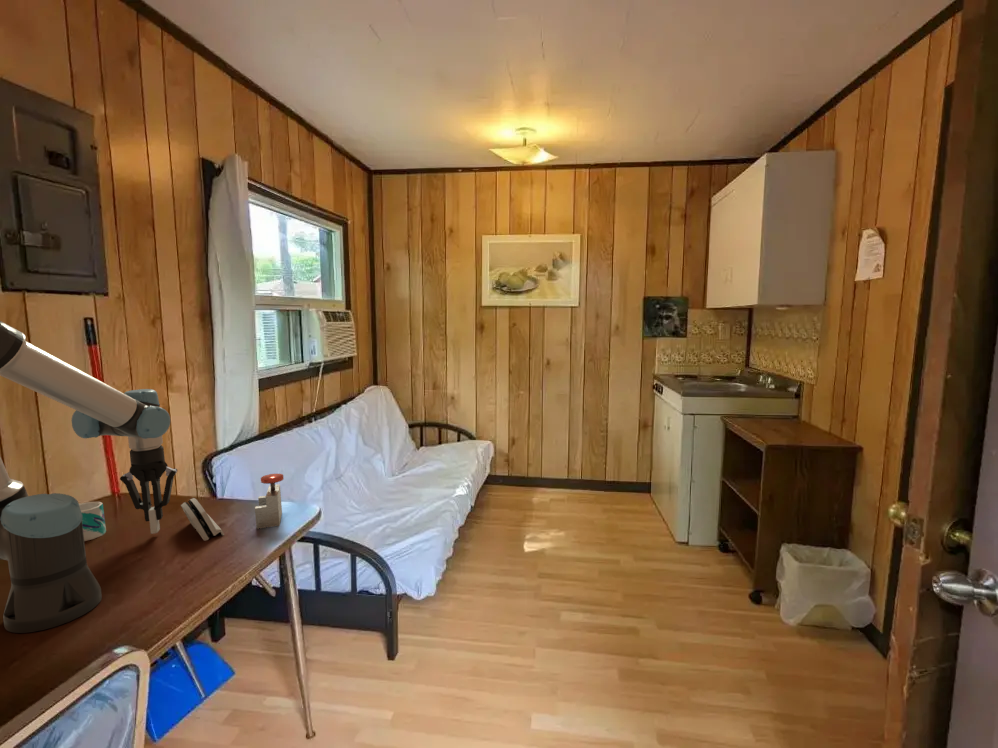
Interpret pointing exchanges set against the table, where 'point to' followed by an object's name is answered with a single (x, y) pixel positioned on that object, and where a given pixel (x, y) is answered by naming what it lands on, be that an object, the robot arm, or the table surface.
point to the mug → (92, 520)
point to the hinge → (200, 519)
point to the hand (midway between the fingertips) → (155, 531)
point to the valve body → (269, 503)
